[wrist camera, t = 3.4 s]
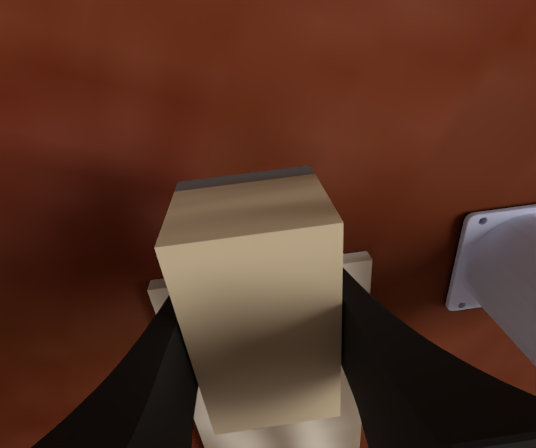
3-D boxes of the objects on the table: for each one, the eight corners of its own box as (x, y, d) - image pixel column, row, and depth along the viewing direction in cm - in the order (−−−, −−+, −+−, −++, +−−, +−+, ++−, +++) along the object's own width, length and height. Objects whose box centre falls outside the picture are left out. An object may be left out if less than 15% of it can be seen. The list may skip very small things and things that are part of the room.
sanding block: (177, 182, 11) (153, 247, 8) (309, 165, 12) (343, 222, 8) (218, 344, 15) (214, 435, 12) (316, 330, 16) (340, 416, 12)
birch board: (366, 250, 22) (372, 260, 21) (356, 436, 33) (359, 448, 32) (150, 280, 21) (146, 291, 21) (212, 458, 32) (212, 470, 32)
